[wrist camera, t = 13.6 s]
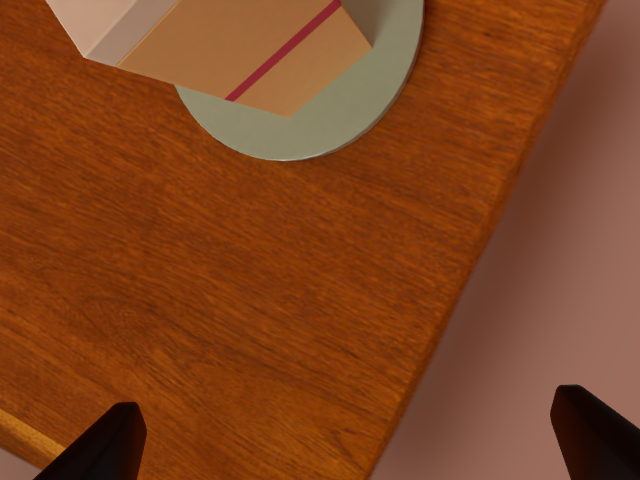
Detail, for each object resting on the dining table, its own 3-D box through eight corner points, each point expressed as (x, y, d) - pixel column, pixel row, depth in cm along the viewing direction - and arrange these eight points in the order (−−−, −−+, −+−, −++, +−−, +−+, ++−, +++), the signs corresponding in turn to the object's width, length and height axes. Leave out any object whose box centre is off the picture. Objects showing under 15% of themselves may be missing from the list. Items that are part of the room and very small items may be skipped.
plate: (489, -1, 20) (491, -10, 19) (295, 214, 24) (289, 215, 23) (280, -187, 21) (272, -204, 20) (131, 46, 25) (118, 42, 24)
